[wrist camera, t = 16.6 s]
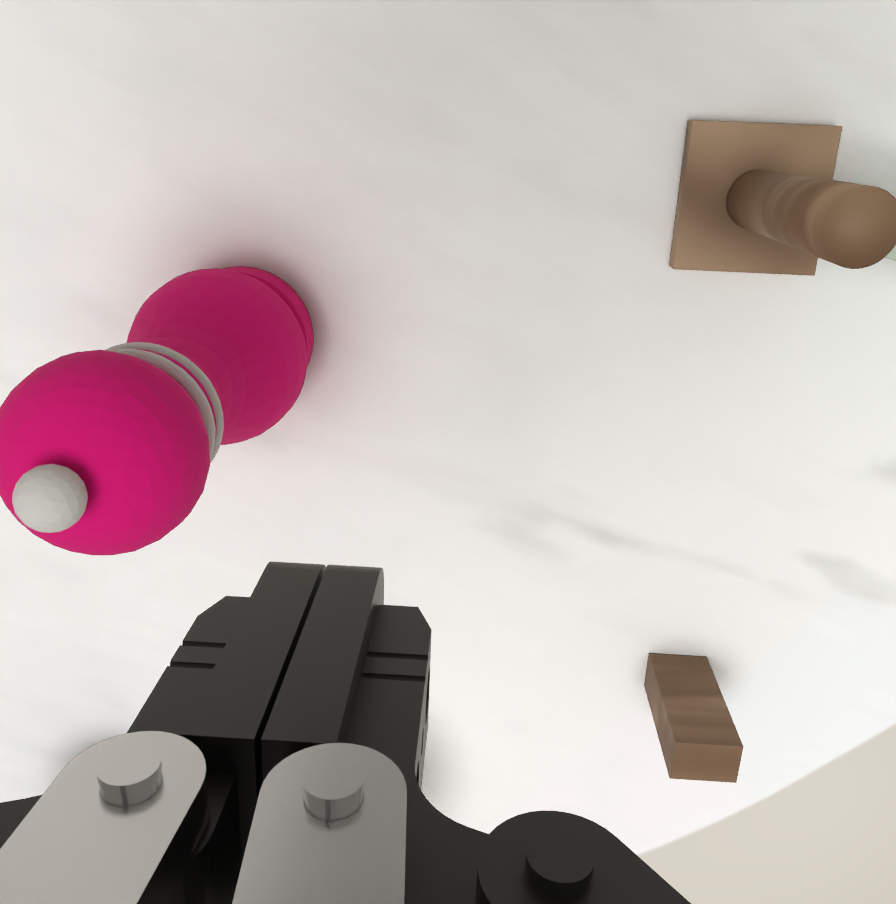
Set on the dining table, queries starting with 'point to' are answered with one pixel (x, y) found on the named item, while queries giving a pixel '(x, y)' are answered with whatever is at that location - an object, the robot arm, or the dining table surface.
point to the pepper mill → (151, 410)
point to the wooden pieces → (754, 251)
